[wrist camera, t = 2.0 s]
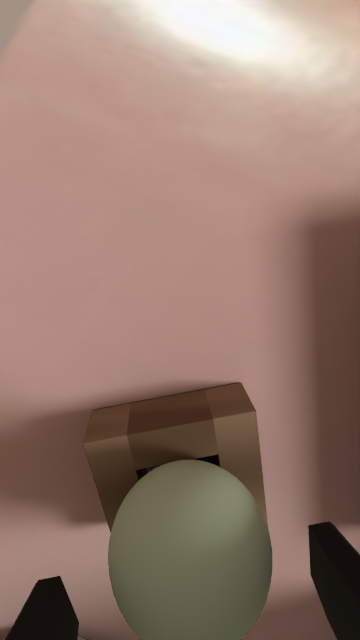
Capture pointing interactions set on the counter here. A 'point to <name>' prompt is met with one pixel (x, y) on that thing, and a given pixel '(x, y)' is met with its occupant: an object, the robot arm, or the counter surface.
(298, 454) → the counter surface
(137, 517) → the sage ball
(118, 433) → the walnut stand
